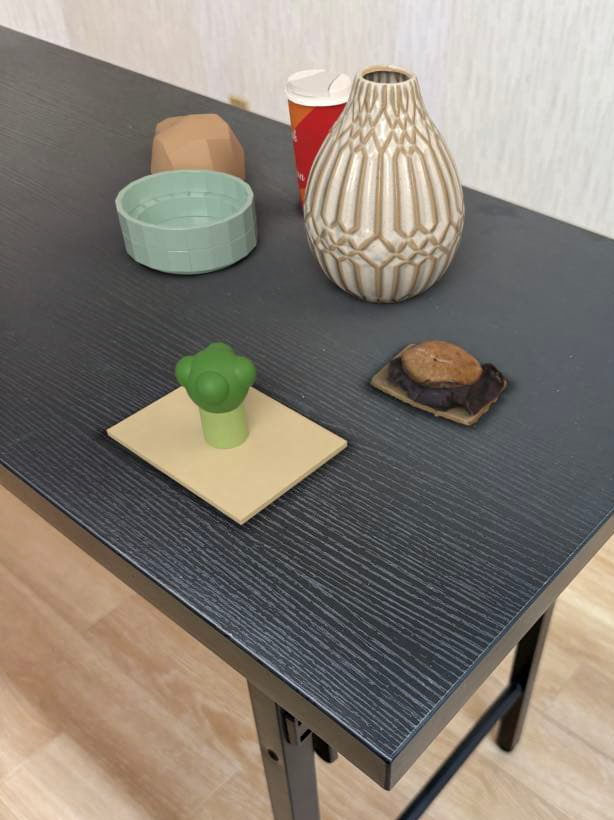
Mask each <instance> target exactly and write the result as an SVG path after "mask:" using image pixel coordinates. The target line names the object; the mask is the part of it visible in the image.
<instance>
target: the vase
mask: <svg viewBox="0 0 614 820" xmlns="http://www.w3.org/2000/svg"><path fill="white" fill-rule="evenodd" d="M464 199H465V198H464V193H463V187H462V182H461V177H460V173H459V171H458V168H457V164H456V161H455V159H454V156H453V154H452V152H451V150H450V149H449V147H448V144H447V142H446V140H445V138H444V137H443V135H442V133H441V132H440V130H439V127H438V126H437V125H436V123H435V122H434V121H433V119H432V118H431V116H430V115H429V113H428V110H427V109H426V106H425V102H424V99H423V96H422V92H421V89H420V84H419V79H418V77H417V74H416V73H415V72H414V71H413V70H412V69H411V68H410V69H409V68H407V67H405V66H401V65H396V64H372V65H367V66H364V67H362V68H360V69H359V70H357V71H356V73H355V74H354V77H353V80H352V88H351V91H350V95H349V98H348V101H347V103H346V106H345V108H344V110H343V111H342V113H341V115H340V116H339V117H338V119H337V120H336V122H335V123H334V124H333V126H332V127H331V129H330V130H329V132H328V134H327V135H326V137H325V139H324V141H323V142H322V144H321V146H320V148H319V150H318V152H317V154H316V156H315V158H314V161H313V164H312V167H311V170H310V173H309V177H308V181H307V185H306V190H305V196H304V205H303V210H302V215H303V216H302V217H303V226H304V230H305V235H306V240H307V243H308V246H309V249H310V251H311V253H312V255H313V257H314V259H315V261H316V263H317V264H318V266H319V268H320V269H321V271H322V272H323V273H324V274H325V276H326V277H327V278H328V279H329V280H330V281H331V282H332V283H333V284H335V286H337V287H338V288H340V289H341V290H342V291H344V292H345V293H348V294H349V295H351V296H353V297H355V298H356V299H359V300H362V301H366V302H370V303H377V304H393V303H394V304H395V303H400V302H404V301H407V300H411V299H412V298H414V297H417V296H418V295H420V294H423V292H425V291H427V290H428V289H430V288H431V287H432V286H433V285H434V284H436V283H437V282H438V281H439V280H440V279H441V278H442V276H444V274H446V271H447V270H448V269H449V267H450V265H451V264H452V262H453V260H454V258H455V256H456V254H457V252H458V249H459V246H460V244H461V240H462V236H463V235H462V234H463V232H464V227H465V226H464V225H465V217H466V215H465V214H466V213H465V212H466V211H465V200H464Z"/></svg>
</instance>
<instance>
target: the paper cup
mask: <svg viewBox="0 0 614 820" xmlns="http://www.w3.org/2000/svg"><path fill="white" fill-rule="evenodd" d="M352 84H353V82H352V80H351V78H350V77H349V76H348V75H347V74H345V73H341V74H340V72H339V71H333V70H328V71H327V69H323V68H321V69H320V68H318V69H317V68H315V69H314V68H313V69H303V70H300V71H297V72H294V73H292V74H290V76H288V78H287V80H286V87H285V89H284V91H283V95H284V97H285V98H286V99H287V105H288V112H289V113H288V114H289V121H290V130H291V136H292V145H293V155H294V162H295V170H296V177H297V178H296V179H297V185H298V186H297V187H298V193H299V199H300V206H301V210H302V211H303V205H304V196H305V190H306V185H307V181H308V177H309V173H310V170H311V167H312V164H313V161H314V158H315V156H316V154H317V152H318V150H319V148H320V146H321V144H322V142H323V141H324V139H325V137H326V135H327V134H328V132H329V130H330V129H331V127H332V126H333V124H334V123H335V122H336V120H337V119H338V117H339V116H340V115H341V113H342V111H343V110H344V108H345V106H346V103H347V101H348V98H349V95H350V91H351V88H352Z"/></svg>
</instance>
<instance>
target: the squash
mask: <svg viewBox="0 0 614 820" xmlns="http://www.w3.org/2000/svg"><path fill="white" fill-rule="evenodd" d="M150 163H151V164H150V173H151V175H152V174H156V173H160V172H164V171H171V170H180V169H206V170H212V171H218V172H224V173H227V174H230V175H232V176H235V177H238V178H240V179H241V180H243V181H244V182H245V179H246V169H245V150H244V148H243V146H242V144H241V143H240V141H239V140H238V138H237V137H236V135H235V133H234V131H233V130H232V128H231V127H230V125H229V124H228V123H227V122H226V121H225V120H224V119H223V118H222V117H221V116H220V115H218V114H217V113H197V114H196V113H194V114H187V115H184V116H183V115H177V116H173V117H172V116H171V117H166V118H165V119H163V120H162V121H160V122H158V123H157V124H156V126H155V131H154V137H153V141H152V146H151V162H150Z"/></svg>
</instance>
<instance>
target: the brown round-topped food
mask: <svg viewBox="0 0 614 820" xmlns="http://www.w3.org/2000/svg"><path fill="white" fill-rule="evenodd" d="M369 385H371V386H372V387H374V388H376V389H378V390H379V391H382V392H383V393H385V394H387V395H390V396H391V397H395V398H394V399H395V400H396V399H398V400H400V401H401V402H403V403H405V404H409V405H410V406H412V407H415V408H418V409H420V410H422V411H427V412H428V413H430V414H433V415H434V416H435V417H443V418H445V419H446V420H451V421H453V422H454V423H455V422H456V423H457V424H461V425H465V426H468V427H470V426H472V425H474V424H475V423H477V422H478V420H479V419H481V417H482V416H483V414H485V413H487V411H488V410H489V409H490V406H491V405H492V404H493V403H496V402H497V401H498V398H499V396H500V395H501V394H502V392H503V391H504V390H505V389H506V388H507V386H508V385H507V381H506V379H505V378H504V375H503V373H502V371H500V370H498V368H497V367H496V366H495V365H494V364H493V363H491V362H484V363H483V364H482V363H479V361H478V360H477V359H476V358H475V357H474V356H473V355H472V354H470V352H468V351H466V350H465V349H463V348H462V347H460V346H459V345H458V344H454V343H451V342H449V341H443V340H435V339H433V340H425V341H421V342H419V343H409V344H407V345H406V346H405V347H404V348H403V349H402V350H401V351H400V352H398V354H396V355H395V356H394V357H393V358H392V359H391V360H389V362H387V364H385V366H382V368H381V369H380V370H379V371H378V372H377V373H376V374H375V375H373V376H372V378H371V380H370V384H369Z"/></svg>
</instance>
